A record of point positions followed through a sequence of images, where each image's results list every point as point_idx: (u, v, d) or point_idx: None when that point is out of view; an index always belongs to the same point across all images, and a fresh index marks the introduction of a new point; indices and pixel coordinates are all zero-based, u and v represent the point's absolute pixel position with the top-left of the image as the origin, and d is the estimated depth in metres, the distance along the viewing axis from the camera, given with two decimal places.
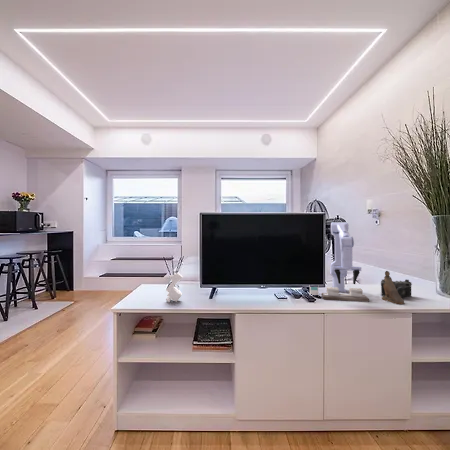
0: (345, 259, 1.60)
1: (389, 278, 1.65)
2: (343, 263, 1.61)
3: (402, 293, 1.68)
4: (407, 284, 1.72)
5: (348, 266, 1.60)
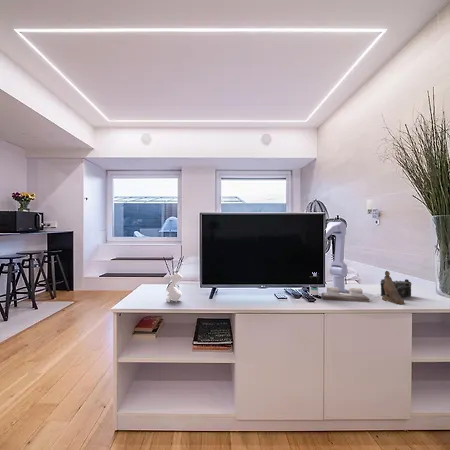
0: None
1: (389, 278, 1.65)
2: None
3: (402, 293, 1.69)
4: (407, 284, 1.73)
5: None
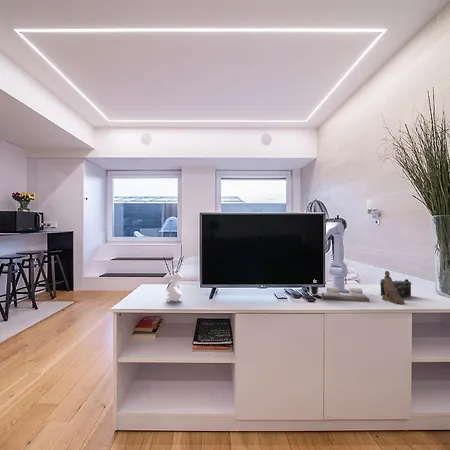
0: None
1: (389, 278, 1.65)
2: None
3: (401, 293, 1.69)
4: (406, 284, 1.73)
5: None
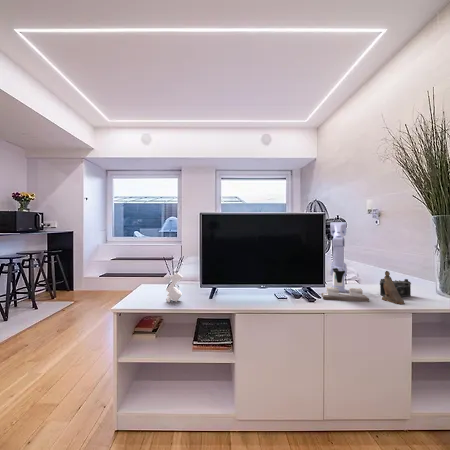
0: None
1: (389, 278, 1.65)
2: None
3: (400, 292, 1.70)
4: (406, 284, 1.73)
5: (333, 264, 1.72)
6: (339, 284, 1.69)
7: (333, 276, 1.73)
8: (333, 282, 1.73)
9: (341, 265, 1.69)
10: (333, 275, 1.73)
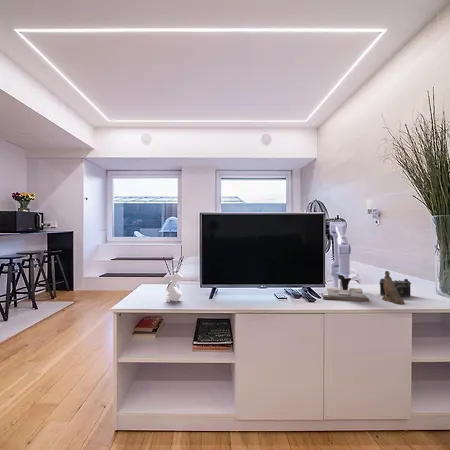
0: None
1: (389, 278, 1.65)
2: None
3: (400, 292, 1.70)
4: (406, 283, 1.74)
5: (339, 271, 1.71)
6: (345, 291, 1.68)
7: (338, 283, 1.72)
8: (339, 289, 1.72)
9: (347, 272, 1.68)
10: (338, 282, 1.72)
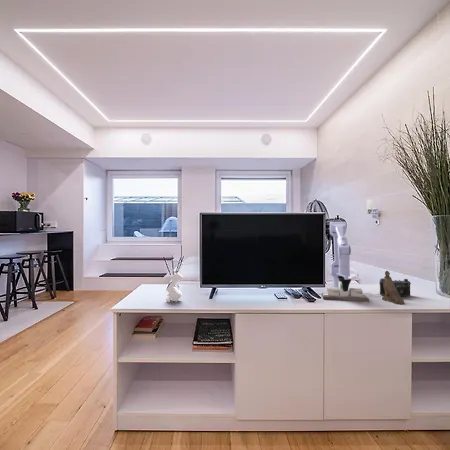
0: None
1: (389, 278, 1.65)
2: None
3: (400, 292, 1.71)
4: (406, 283, 1.74)
5: (339, 272, 1.71)
6: (345, 294, 1.68)
7: (339, 285, 1.72)
8: (339, 291, 1.72)
9: (347, 273, 1.68)
10: (339, 284, 1.72)
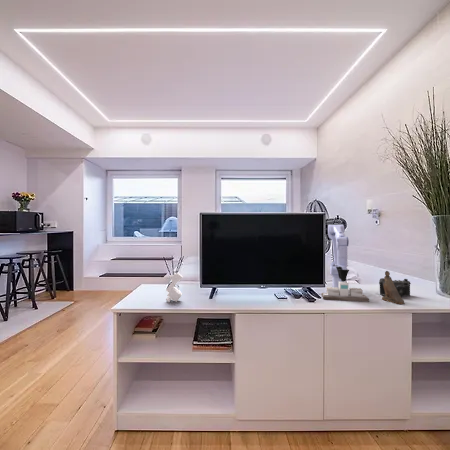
0: None
1: (389, 278, 1.65)
2: None
3: (399, 292, 1.71)
4: (405, 283, 1.74)
5: (337, 263, 1.77)
6: (345, 294, 1.68)
7: (339, 285, 1.72)
8: (339, 291, 1.72)
9: (345, 264, 1.74)
10: (339, 284, 1.72)
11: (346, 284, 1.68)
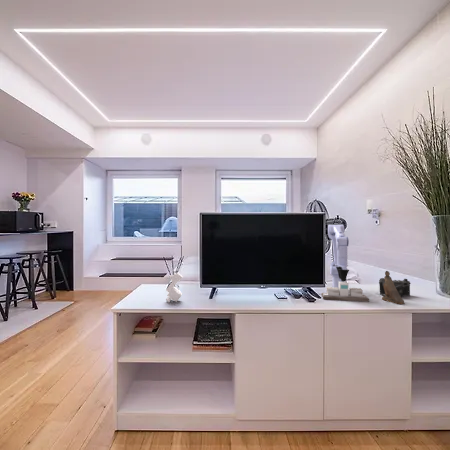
0: None
1: (389, 278, 1.65)
2: None
3: (399, 292, 1.71)
4: (405, 283, 1.75)
5: (337, 263, 1.77)
6: (345, 294, 1.68)
7: (339, 285, 1.72)
8: (339, 291, 1.72)
9: (345, 264, 1.74)
10: (339, 284, 1.72)
11: (346, 284, 1.68)
